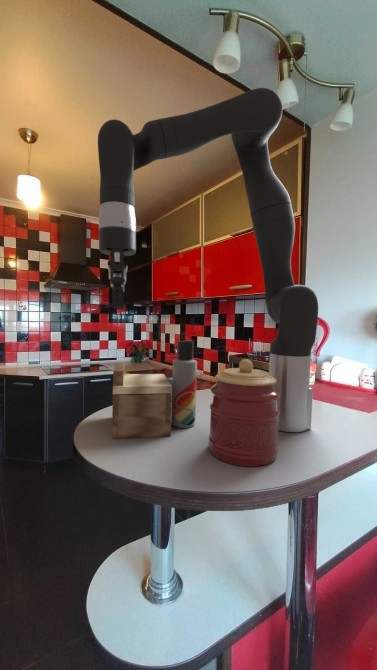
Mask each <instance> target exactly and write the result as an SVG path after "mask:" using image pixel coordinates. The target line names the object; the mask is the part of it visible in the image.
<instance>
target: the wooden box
mask: <svg viewBox="0 0 377 670" xmlns="http://www.w3.org/2000/svg"><path fill="white" fill-rule="evenodd" d="M171 408H172V393H155V394H113V393H112V415H111V417H112V418H111V419H112V420H111V421H112V423H111V439H112V440H119V439H120V440H123V439H142V438H144V439H145V438H161V437H162V438H163V437H166V438H167V437H171V436H172V435H171V432H172V431H171V430H172V424H171Z"/></svg>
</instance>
